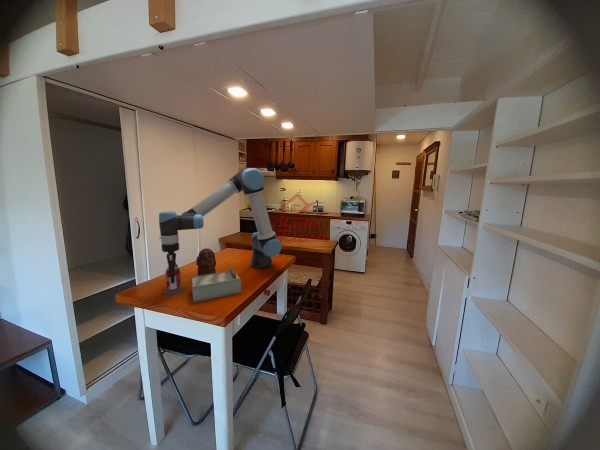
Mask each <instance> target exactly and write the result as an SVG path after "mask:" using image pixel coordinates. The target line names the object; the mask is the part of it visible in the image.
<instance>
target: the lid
mask: <svg viewBox="0 0 600 450" xmlns="http://www.w3.org/2000/svg"><path fill="white" fill-rule="evenodd" d="M234 270H235V269H234V268H233V267H230V268H229V271H230V272H226V271H225V272H226V273H220V272H219V273H220V274H214V275H208V276H202V277H196V278H192V282H191V285H192V284H193V287H194V286H200V285H205V284H211V283H216V282H222V281H228V280H233V279H239V278H240V277H239V275H238V273H237V272H236V270H235V271H234Z"/></svg>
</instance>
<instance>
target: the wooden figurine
mask: <svg viewBox="0 0 600 450" xmlns="http://www.w3.org/2000/svg"><path fill="white" fill-rule="evenodd" d="M215 255H216V254H215V252H214V251H213V250H212V249H211V248H208V247H207V248H202V249H201V250H200V251H199V252H198V256H197V257H196V260H195V261H196V266H197V276H201V275H207V274H214V273H217V270H216V266H217V260H216V256H215Z"/></svg>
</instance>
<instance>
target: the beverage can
mask: <svg viewBox="0 0 600 450" xmlns="http://www.w3.org/2000/svg"><path fill="white" fill-rule="evenodd" d="M175 275H176V284H177V289H171V290H170V280H169V277H167V276H169V268H168V267H167V268H166V270H165V280H166V281H165V282H166V289H167V290H168V291H170V292H176V291H178V290H180V288H181V286H182V278H181V269H180V267H179V266H178V265H177V266H175Z"/></svg>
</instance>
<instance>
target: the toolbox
mask: <svg viewBox="0 0 600 450" xmlns="http://www.w3.org/2000/svg"><path fill="white" fill-rule="evenodd" d="M234 271H235V272H236V269H234ZM226 272H230V270H227V271H221V272H216V273H214V274H220V273H226ZM214 274H207V275H201V276H198V275H196V276H191V277H190V279H191V290H192V291H191V292H192V294H191V295H192V300H193V301H192V303H199V302H202V301H208V300H212V299H217V298H221V297H227V296H231V295H232V296H233V295H236V294H241V293H242V279H241V277H239V279H233V280H228V281H222V282H216V283H211V284H205V285H200V286H194V287H193V284H192V278H196V277H202V276H208V275H214Z"/></svg>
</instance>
